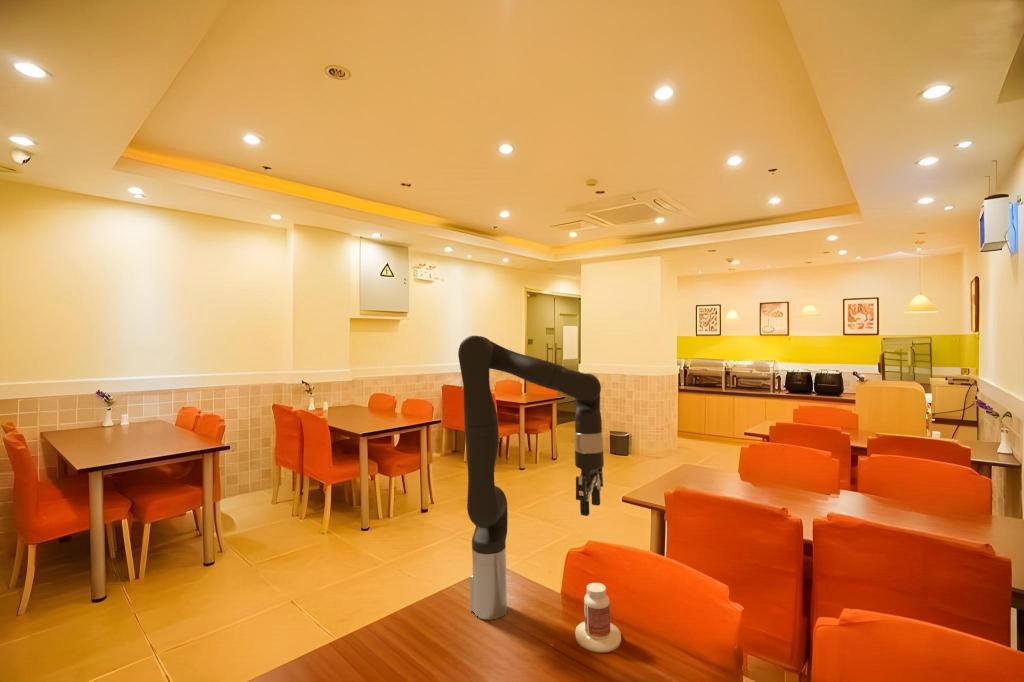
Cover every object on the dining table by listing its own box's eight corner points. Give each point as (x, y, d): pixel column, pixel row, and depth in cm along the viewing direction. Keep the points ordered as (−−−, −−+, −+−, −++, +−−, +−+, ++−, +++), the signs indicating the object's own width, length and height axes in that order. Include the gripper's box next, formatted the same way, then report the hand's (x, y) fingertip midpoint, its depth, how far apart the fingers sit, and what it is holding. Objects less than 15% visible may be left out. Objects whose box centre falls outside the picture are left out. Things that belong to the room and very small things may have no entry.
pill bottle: (615, 634, 113) (614, 588, 113) (597, 643, 109) (596, 596, 110) (597, 622, 118) (596, 578, 118) (579, 630, 114) (578, 585, 115)
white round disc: (568, 643, 111) (568, 638, 111) (584, 620, 121) (584, 615, 121) (613, 657, 106) (613, 652, 106) (626, 631, 116) (626, 626, 116)
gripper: (585, 442, 131) (586, 500, 131) (565, 453, 119) (567, 516, 119) (610, 444, 128) (612, 503, 127) (593, 455, 115) (595, 521, 115)
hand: (590, 510), depth 123 cm, fingers open, 8 cm apart
